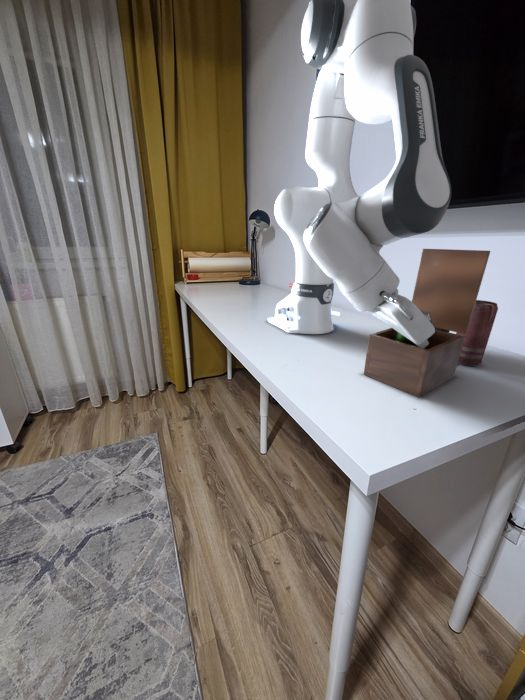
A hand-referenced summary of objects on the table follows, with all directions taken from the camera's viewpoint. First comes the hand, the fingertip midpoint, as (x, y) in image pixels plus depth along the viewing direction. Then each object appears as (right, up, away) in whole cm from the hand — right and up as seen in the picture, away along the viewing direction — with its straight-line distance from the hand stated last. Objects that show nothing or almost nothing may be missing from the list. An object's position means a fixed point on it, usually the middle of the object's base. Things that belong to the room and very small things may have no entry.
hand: (414, 339), depth 56 cm
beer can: (-1, -6, +2) cm, 7 cm away
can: (+18, -5, +11) cm, 22 cm away
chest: (+1, -7, +4) cm, 8 cm away
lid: (+7, +10, +2) cm, 12 cm away
